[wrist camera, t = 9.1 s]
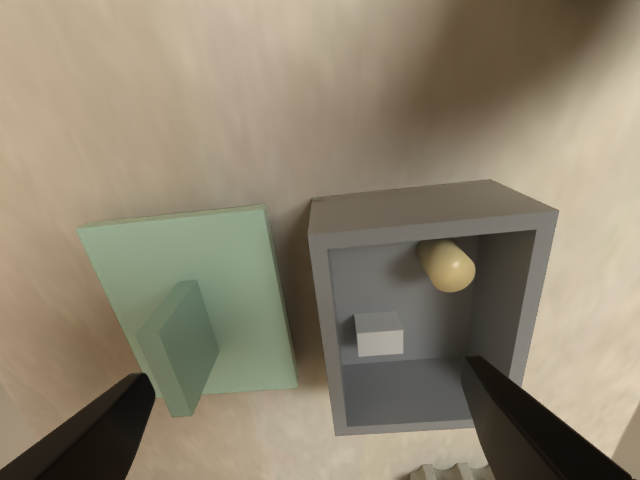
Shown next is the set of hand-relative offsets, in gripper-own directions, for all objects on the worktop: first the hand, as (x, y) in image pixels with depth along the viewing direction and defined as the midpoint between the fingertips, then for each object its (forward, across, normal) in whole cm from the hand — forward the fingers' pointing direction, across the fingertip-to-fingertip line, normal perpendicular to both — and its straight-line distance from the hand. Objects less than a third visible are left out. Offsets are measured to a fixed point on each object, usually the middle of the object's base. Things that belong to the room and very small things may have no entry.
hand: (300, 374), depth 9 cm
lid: (+12, +9, +6) cm, 16 cm away
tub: (+12, -5, +6) cm, 15 cm away
